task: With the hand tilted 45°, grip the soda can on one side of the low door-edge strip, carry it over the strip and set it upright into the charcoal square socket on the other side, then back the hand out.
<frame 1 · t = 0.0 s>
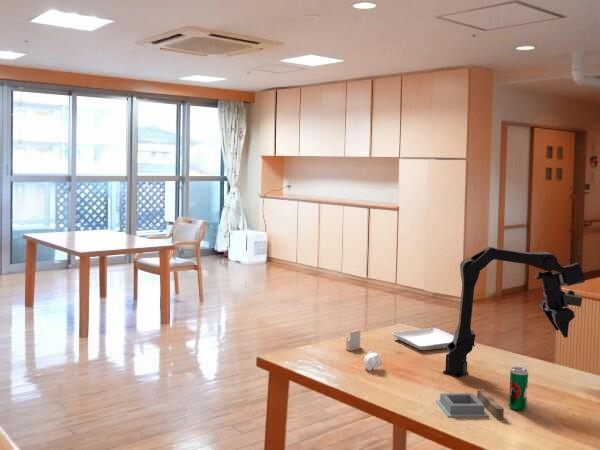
hand: (561, 333, 223), 15 cm above the table, tool pointing down, fingers open, 9 cm apart
salad plate: (427, 344, 264), on the table
door edge strip: (489, 408, 196), on the table
soda can: (517, 408, 197), on the table
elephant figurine: (372, 369, 230), on the table
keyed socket: (461, 408, 195), on the table
architectural model: (352, 350, 255), on the table
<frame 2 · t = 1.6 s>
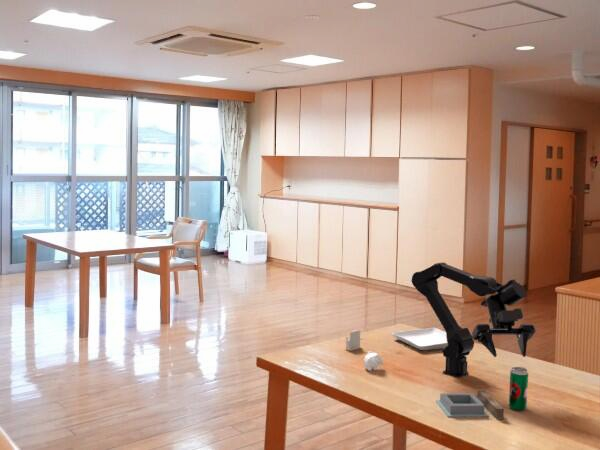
hand: (510, 356, 203), 13 cm above the table, tool tilted 45°, fingers open, 9 cm apart
nothing on the table moved.
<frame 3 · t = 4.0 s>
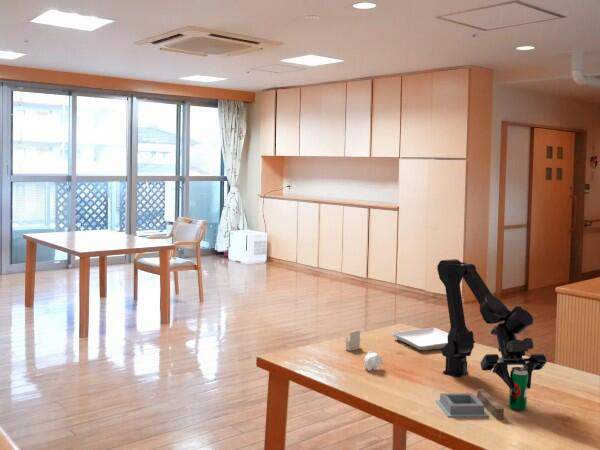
hand: (520, 388, 195), 7 cm above the table, tool tilted 45°, fingers closed on soda can, 5 cm apart
soda can: (517, 408, 197), on the table, touching gripper
everything else where it was.
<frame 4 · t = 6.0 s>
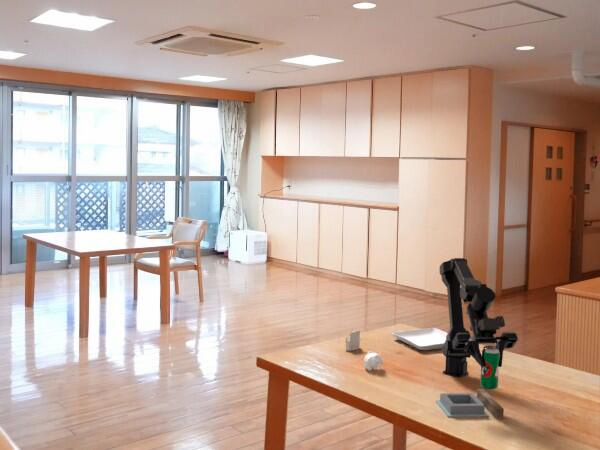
hand: (491, 366, 193), 13 cm above the table, tool tilted 45°, fingers closed on soda can, 5 cm apart
soda can: (488, 387, 195), point 6 cm above the table, touching gripper
everything else where it was.
when the fingers open (8 cm above the table, at t = 8.0 s): soda can drops 1 cm, resting on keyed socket.
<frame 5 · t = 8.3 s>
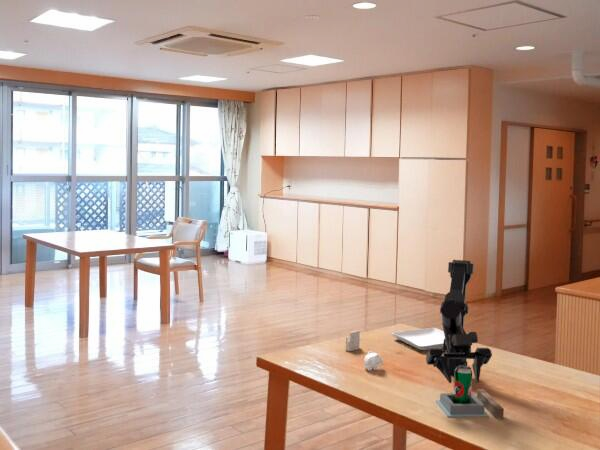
hand: (464, 382, 193), 9 cm above the table, tool tilted 45°, fingers open, 8 cm apart
soda can: (461, 407, 195), resting on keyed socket
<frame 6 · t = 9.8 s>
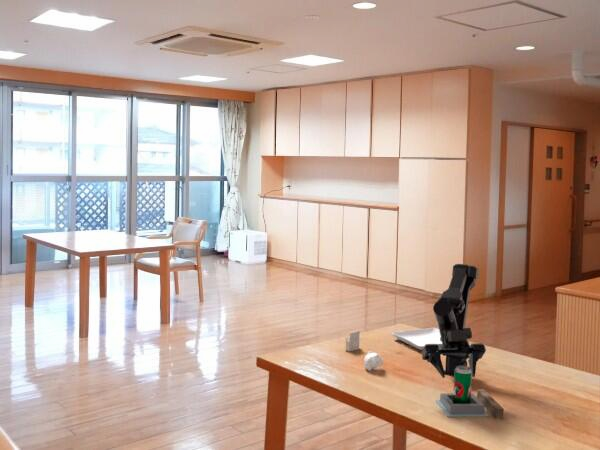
hand: (458, 377, 198), 8 cm above the table, tool tilted 45°, fingers open, 9 cm apart
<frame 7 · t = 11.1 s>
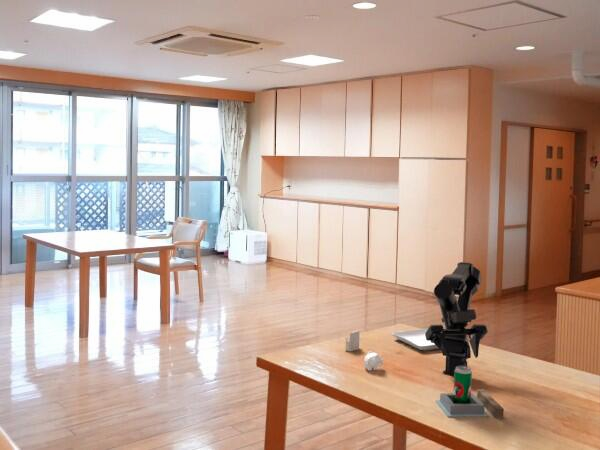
hand: (462, 357, 202), 13 cm above the table, tool tilted 40°, fingers open, 9 cm apart
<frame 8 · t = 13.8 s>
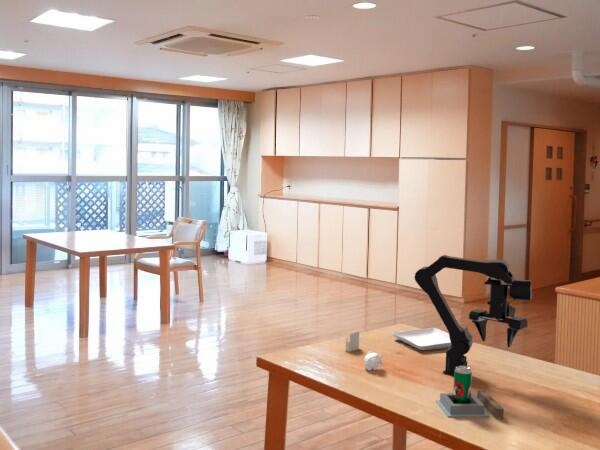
hand: (496, 344, 221), 12 cm above the table, tool pointing down, fingers open, 9 cm apart
at the end: soda can 0.1 cm off-centre on the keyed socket, point 0.2 cm above the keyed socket's base; soda can tilted 0°; the gripper is holding nothing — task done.
